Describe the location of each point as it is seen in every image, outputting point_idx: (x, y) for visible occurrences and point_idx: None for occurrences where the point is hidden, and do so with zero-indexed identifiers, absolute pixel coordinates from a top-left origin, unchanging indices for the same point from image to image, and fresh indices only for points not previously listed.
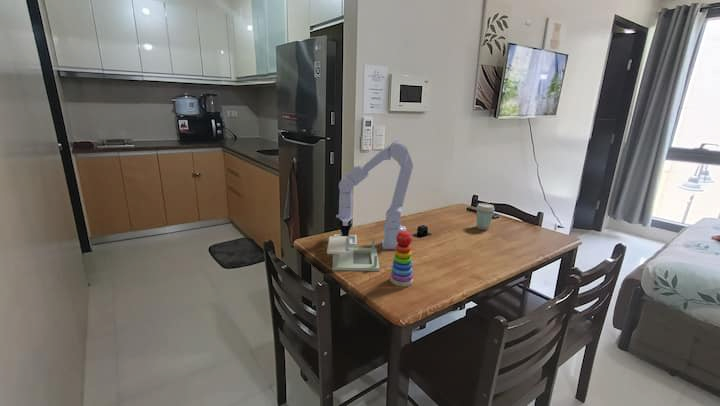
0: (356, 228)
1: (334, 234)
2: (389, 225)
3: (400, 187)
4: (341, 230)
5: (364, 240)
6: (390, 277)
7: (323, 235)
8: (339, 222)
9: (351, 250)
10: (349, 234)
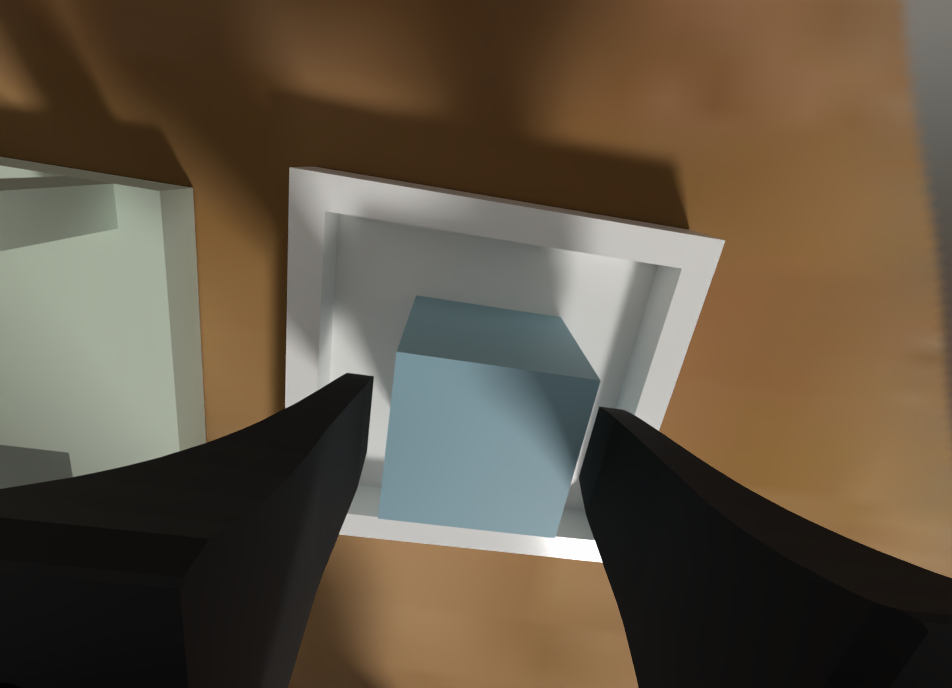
0: (937, 561)
1: (717, 243)
2: None
3: None
4: (213, 448)
5: (524, 590)
6: None
7: (878, 34)
8: (155, 613)
9: (63, 429)
10: (459, 511)
